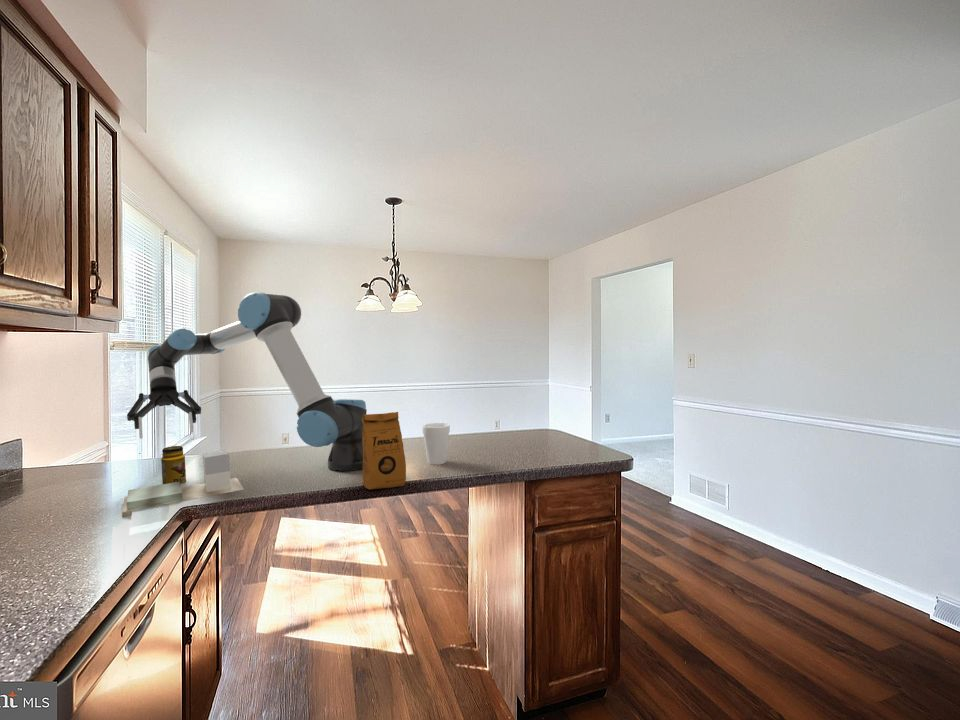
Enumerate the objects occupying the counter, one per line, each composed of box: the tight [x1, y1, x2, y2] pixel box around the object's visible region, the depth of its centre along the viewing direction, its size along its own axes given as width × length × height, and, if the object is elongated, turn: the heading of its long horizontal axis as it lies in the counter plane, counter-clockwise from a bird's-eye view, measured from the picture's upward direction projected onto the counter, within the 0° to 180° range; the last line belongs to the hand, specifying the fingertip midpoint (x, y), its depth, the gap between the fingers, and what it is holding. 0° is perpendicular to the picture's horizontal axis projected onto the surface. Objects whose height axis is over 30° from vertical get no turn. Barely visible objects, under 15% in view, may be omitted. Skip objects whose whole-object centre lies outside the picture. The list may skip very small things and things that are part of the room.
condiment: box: [160, 445, 187, 485], centre depth 142 cm, size 7×8×12 cm
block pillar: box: [202, 449, 231, 492], centre depth 137 cm, size 6×6×10 cm
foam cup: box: [422, 422, 451, 466], centre depth 164 cm, size 10×9×13 cm
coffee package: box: [362, 411, 407, 490], centre depth 139 cm, size 10×12×22 cm
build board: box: [121, 477, 245, 518], centre depth 132 cm, size 28×14×3 cm, turn 126°
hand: (167, 433), depth 150 cm, fingers open, 13 cm apart
